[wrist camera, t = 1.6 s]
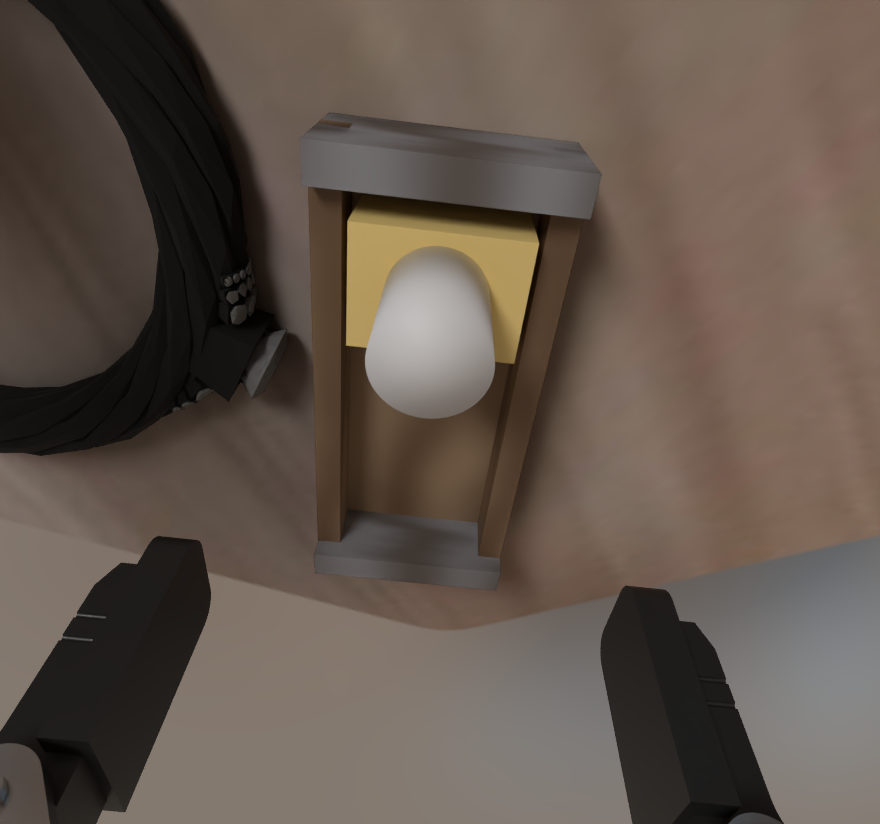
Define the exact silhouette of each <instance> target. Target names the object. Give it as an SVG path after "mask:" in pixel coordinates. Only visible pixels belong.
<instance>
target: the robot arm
mask: <svg viewBox="0 0 880 824" xmlns="http://www.w3.org/2000/svg"><path fill="white" fill-rule="evenodd" d="M210 601H211V589H210V584H209V579H208V574H207V569H206V564H205V559H204V554H203V549H202V545H201V542H200V541H198V540H191V539H181V538H172V537H162V536H157V537H155V538H154V539H153V540H152V541H151V542H150V544H149V545H148V547H147V548H146V550H145V552H144V553H143V555H142V557H141V559H140V560H139V562H138V564H129V563H120V564H119V565H118V566H117V567H115V568H114V569H113V570H112V571H110V572H109V573H108V574H107V575H106V576H105V577H103V578H102V579H101V580H100V581H99V582H97V583H96V584H95V585H94V587H93V588H92V590H91V591H90V593H89V594H88V596H87V597H86V599H85V601H84V602H83V604H82V605H81V607H80V608H79V610H78V612H77V616H76V618H73V619H72V621H71V622H70V624H69V626H68V627H67V629H66V630H65V632H64V633H63V638H62V640H61V641H58V643H57V644H56V646H55V648H54V649H53V651H52V652H51V654H50V655H49V657H48V659H47V660H46V662H45V663H44V665H43V666H42V668H41V669H40V671H39V672H38V674H37V676H36V677H35V679H34V681H33V682H32V683H31V685H30V686H29V688H28V690H27V691H26V693H25V694H24V696H23V697H22V699H21V701H20V702H19V704H18V705H17V707H16V709H15V710H14V712H13V713H12V715H11V716H10V718H9V719H8V721H7V723H6V724H5V726H4V727H3V729H2V730H1V731H0V824H96V823H97V820H98V818H99V816H100V814H101V812H102V810H106V811H118V812H125V811H126V809H127V807H128V804H129V802H130V799H131V797H132V795H133V792H134V790H135V787H136V785H137V783H138V781H139V778H140V776H141V773H142V771H143V769H144V766H145V764H146V761H147V759H148V757H149V755H150V752H151V750H152V748H153V745H154V743H155V741H156V738H157V736H158V733H159V731H160V728H161V726H162V724H163V722H164V719H165V717H166V715H167V712H168V710H169V708H170V705H171V702H172V700H173V698H174V696H175V693H176V691H177V688H178V686H179V684H180V681H181V679H182V677H183V675H184V672H185V670H186V667H187V665H188V663H189V660H190V658H191V656H192V653H193V651H194V649H195V646H196V644H197V642H198V639H199V637H200V634H201V632H202V630H203V627H204V625H205V622H206V619H207V616H208V613H209V608H210ZM601 664H602V669H603V675H604V680H605V685H606V690H607V695H608V700H609V705H610V710H611V715H612V721H613V726H614V731H615V736H616V741H617V746H618V751H619V757H620V762H621V767H622V772H623V777H624V782H625V787H626V792H627V797H628V803H629V808H630V813H631V818H632V823H633V824H784V823H783V822H782V820H781V818H780V817H779V815H778V813H777V811H776V809H775V807H774V805H773V803H772V800H771V798H770V795H769V792H768V790H767V787H766V784H765V781H764V779H763V776H762V773H761V771H760V768H759V766H758V763H757V760H756V757H755V755H754V752H753V750H752V747H751V744H750V742H749V739H748V736H747V733H746V731H745V728H744V725H743V723H742V720H741V718H740V715H739V712H738V710H737V709H735V701H734V699H733V696H732V693H731V691H730V688H729V685H728V684H726V677H725V675H724V672H723V669H722V667H721V664H720V661H719V659H718V656H717V653H716V651H715V648H714V647H713V646H712V645H711V643H710V642H709V641H708V639H707V638H706V637H705V636H704V634H703V633H702V632H701V630H700V629H699V628H698V626H697V625H696V624H695V623H693V622H684V621H679V618H678V615H677V612H676V609H675V606H674V604H673V600H672V598H671V596H670V594H669V593H668V592H667V591H666V590H662V589H653V588H643V587H633V586H625V587H624V588H623V589H622V591H621V593H620V595H619V597H618V599H617V601H616V604H615V606H614V608H613V610H612V613H611V615H610V617H609V619H608V621H607V624H606V626H605V628H604V631H603V634H602V639H601Z"/></svg>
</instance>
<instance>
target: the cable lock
mask: <svg viewBox="0 0 880 824" xmlns="http://www.w3.org/2000/svg"><path fill="white" fill-rule="evenodd" d="M28 1H29V2H30V3H31V4H32V5H33V6H35V7H36V8H37V9H38V10H39V11H40V12H41V13H42V14H43V15H45V16H46V17H47V18H48V19H49V20H50V21H51V22H52V23H53V24H54V25H55V27H56V28H57V30H58V31H59V33H60V34H61V36H62V37H63V39H64V40H65V42H66V43H67V45H68V46H69V48H70V50H71V51H72V53H73V54H74V56H75V57H76V59H77V60H78V62H79V63H80V65H81V66H82V68H83V69H84V71H85V72H86V74H87V76H88V77H89V79H90V80H91V82H92V83H93V85H94V86H95V88H96V89H97V91H98V92H99V94H100V95H101V97H102V98H103V100H104V101H105V103H106V105H107V106H108V108H109V109H110V111H111V112H112V114H113V115H114V117H115V118H116V120H117V122H118V124H119V125H120V127H121V129H122V131H123V133H124V135H125V137H126V139H127V142H128V145H129V148H130V151H131V154H132V157H133V160H134V163H135V166H136V169H137V172H138V175H139V178H140V181H141V184H142V187H143V190H144V193H145V196H146V199H147V202H148V205H149V208H150V211H151V214H152V218H153V223H154V228H155V233H156V238H157V243H158V248H159V252H158V263H157V274H156V285H155V296H154V307H153V310H152V314H151V315H150V317H149V319H148V321H147V322H146V324H145V326H144V328H143V330H142V331H141V333H140V335H139V337H138V338H137V340H136V342H135V344H134V346H133V347H132V348H131V349H130V350H129V351H128V352H127V353H126V354H124V355H123V356H122V357H121V358H120V359H119V360H118V361H116V362H115V363H114V364H113V365H112V366H111V367H110V368H108V369H107V370H106V371H105V372H103V373H100V374H97V375H95V376H92V377H89V378H86V379H83V380H80V381H78V382H75V383H72V384H69V385H66V386H62V387H37V388H21V387H13V386H5V385H0V453H28V454H34V455H39V456H43V455H50V454H57V453H64V452H71V451H78V450H85V449H91V448H93V447H99V446H103V445H107V444H111V443H115V442H119V441H123V440H127V439H131V438H133V437H134V436H136V435H137V434H139V433H140V432H141V431H143V430H144V429H146V428H147V427H149V426H150V425H152V424H153V423H155V422H156V421H158V420H159V419H160V418H161V417H163V416H166V415H168V414H170V413H172V412H176V411H178V410H182V409H185V408H186V407H188V406H190V405H193V404H195V403H196V402H198V401H201V400H202V399H203V398H205V397H206V396H207V395H208V394H210V393H212V392H213V391H216V392H217V393H218V394H219V395H221V396H222V397H223V398H225V399H226V400H227V401H228V402H229V401H230V399H231V397H232V395H233V394H234V392H235V390H236V389H237V387H238V385H239V383H240V382H241V383H243V384H244V386H245V388H246V390H247V392H248V394H249V396H250V398H251V399H253V398H255V397H256V396H258V395H259V394H261V393H262V392H264V391H265V389H266V387H267V385H268V383H269V381H270V379H271V377H272V375H273V373H274V371H275V369H276V367H277V365H278V363H279V361H280V359H281V357H282V355H283V353H284V351H285V349H286V347H287V345H288V340H287V329H285V330H280V331H275V332H270V333H268V331H267V329H268V327H269V324H270V322H271V320H272V318H273V316H274V314H271V313H268V312H265V311H262V310H259V309H257V308H254V307H255V305H256V297H257V292H256V286H255V285H254V284H255V278H254V272H253V269H252V267H251V266H252V264H251V258H250V257H249V255H248V254H246V245H247V238H246V234H245V229H244V220H243V210H242V201H241V191H240V181H239V177H238V174H237V170H236V166H235V163H234V159H233V155H232V152H231V148H230V145H229V142H228V140H227V138H226V136H225V134H224V132H223V130H222V128H221V126H220V124H219V121H218V119H217V117H216V115H215V113H214V111H213V109H212V107H211V105H210V103H209V101H208V99H207V97H206V94H205V91H204V88H203V85H202V82H201V79H200V76H199V73H198V70H197V67H196V64H195V60H194V57H193V54H192V51H191V50H190V48H189V46H188V45H187V43H186V42H185V40H184V38H183V37H182V35H181V34H180V32H179V31H178V29H177V27H176V26H175V24H174V23H173V21H172V20H171V18H170V16H169V15H168V13H167V12H166V10H165V9H164V7H163V6H162V4H161V3H160V2H159V0H28Z"/></svg>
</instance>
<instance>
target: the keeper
mask: <svg viewBox="0 0 880 824" xmlns="http://www.w3.org/2000/svg"><path fill="white" fill-rule="evenodd" d="M538 247H539V241H538V237H537V234H536V230H535V227H534V223H533V220H532V216H531V213H526V212H517V211H508V210H500V209H491V208H483V207H474V206H466V205H457V204H449V203H440V202H432V201H423V200H415V199H406V198H398V197H389V196H381V195H372V194H363V193H362V194H361V196H360V198H359V200H358V202H357V204H356V206H355V208H354V210H353V212H352V214H351V215H350V217H349V219H348V221H347V313H346V346H355V347H364V348H367V350H366V355H365V368H366V373H367V376H368V379H369V381H370V383H371V385H372V387H373V389H374V390H375V392H376V393H377V394H378V395H379V396H380V398H381V399H382V400H384V401H385V402H386V403H387V404H388V405H390V406H391V407H393V408H394V409H396V410H398V411H400V412H402V413H405V414H407V415H410V416H414V417H419V418H427V419H437V418H445V417H450V416H454V415H457V414H459V413H462V412H464V411H466V410H467V409H469V408H471V407H472V406H473V405H475V404H476V403H477V402H478V401H479V400H480V399H481V398H482V397H483V396H484V395H485V394H486V392H487V390H488V389H489V387H490V385H491V382H492V380H493V376H494V371H495V362H502V363H511V364H514V362H515V358H516V353H517V348H518V343H519V338H520V333H521V329H522V324H523V319H524V314H525V309H526V305H527V300H528V295H529V290H530V285H531V281H532V276H533V271H534V266H535V261H536V256H537V252H538Z"/></svg>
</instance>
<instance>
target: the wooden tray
mask: <svg viewBox="0 0 880 824" xmlns="http://www.w3.org/2000/svg"><path fill="white" fill-rule="evenodd" d="M300 158H301V186H308V198H309V234H310V270H311V306H312V342H313V378H314V414H315V450H316V486H317V522H318V542H317V546H316V550H315V553H314V566H315V573H322V574H332V575H342V576H352V577H363V578H373V579H383V580H393V581H404V582H414V583H424V584H434V585H445V586H455V587H465V588H475V589H485V590H496V589H497V585H498V581H499V577H500V573H501V571H500V555H501V551H502V547H503V543H504V539H505V535H506V531H507V527H508V523H509V519H510V515H511V511H512V507H513V503H514V499H515V495H516V491H517V487H518V483H519V479H520V474H521V470H522V466H523V462H524V458H525V454H526V450H527V446H528V442H529V438H530V434H531V430H532V426H533V422H534V418H535V414H536V410H537V406H538V402H539V398H540V394H541V390H542V385H543V381H544V377H545V373H546V369H547V365H548V361H549V357H550V353H551V349H552V345H553V341H554V337H555V333H556V329H557V325H558V321H559V317H560V313H561V309H562V305H563V301H564V297H565V292H566V288H567V284H568V280H569V276H570V272H571V268H572V264H573V260H574V256H575V252H576V248H577V244H578V240H579V236H580V232H581V228H582V224H583V220H584V219H591V215H592V211H593V208H594V204H595V200H596V196H597V192H598V188H599V184H600V180H601V176H602V174H601V172H600V171H599V170H598V168H597V167H596V166H595V164H594V163H593V162H592V160H591V159H590V158H589V156H588V155H587V154H586V152H585V151H584V149H583V148H582V147H581V145H580V144H579V143H576V142H568V141H559V140H551V139H543V138H534V137H526V136H518V135H510V134H501V133H493V132H485V131H477V130H468V129H460V128H452V127H444V126H435V125H427V124H419V123H411V122H402V121H394V120H386V119H378V118H369V117H361V116H353V115H345V114H336V113H328V114H327V115H326V116H325V117H324V118H323V119H321V120H320V121H319V122H318V123H317V124H316V125H314V126H313V127H312V128H311V129H310V130H309V131H308V132H306V133H305V134H304V135H303V136H302V137H301V138H300ZM362 193H363V194H372V195H381V196H389V197H398V198H406V199H415V200H423V201H432V202H440V203H449V204H457V205H466V206H474V207H483V208H491V209H500V210H508V211H517V212H526V213H531V216H532V220H533V223H534V227H535V230H536V234H537V237H538V241H539V247H538V252H537V256H536V261H535V266H534V271H533V276H532V281H531V285H530V290H529V295H528V300H527V305H526V309H525V314H524V319H523V324H522V329H521V333H520V338H519V343H518V348H517V353H516V358H515V362H514V364H511V363H502V362H495V371H494V376H493V380H492V382H491V385H490V387H489V389H488V390H487V392H486V394H485V395H484V396H483V397H482V398H481V399H480V400H479V401H478V402H477V403H476V404H475V405H473V406H472V407H471V408H469V409H467V410H466V411H464V412H462V413H459V414H457V415H454V416H450V417H445V418H437V419H427V418H419V417H414V416H410V415H407V414H405V413H402V412H400V411H398V410H396V409H394V408H393V407H391V406H390V405H388V404H387V403H386V402H385V401H384V400H382V399H381V398H380V396H379V395H378V394H377V393H376V392H375V390H374V389H373V387H372V385H371V383H370V381H369V379H368V376H367V373H366V368H365V355H366V350H367V348H364V347H355V346H346V313H347V221H348V219H349V217H350V215H351V214H352V212H353V210H354V208H355V206H356V204H357V202H358V200H359V198H360V196H361V194H362Z"/></svg>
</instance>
